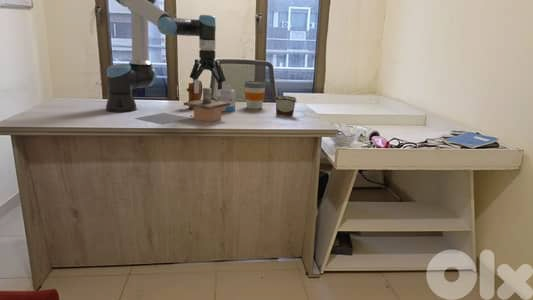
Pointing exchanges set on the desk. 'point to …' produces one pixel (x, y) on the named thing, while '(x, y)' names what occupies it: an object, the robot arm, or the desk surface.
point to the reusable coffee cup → (254, 94)
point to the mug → (193, 95)
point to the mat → (162, 118)
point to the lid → (206, 101)
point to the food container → (285, 105)
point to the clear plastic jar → (227, 98)
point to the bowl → (207, 114)
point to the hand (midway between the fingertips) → (207, 94)
